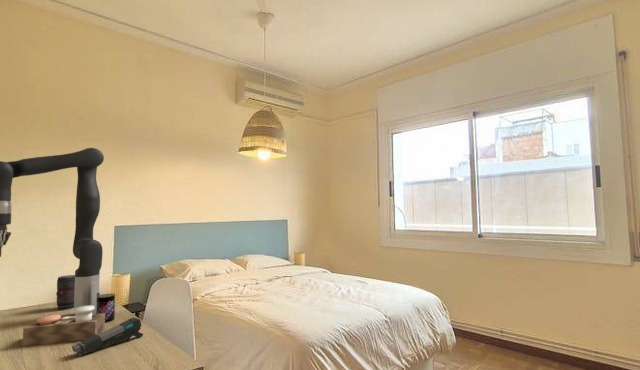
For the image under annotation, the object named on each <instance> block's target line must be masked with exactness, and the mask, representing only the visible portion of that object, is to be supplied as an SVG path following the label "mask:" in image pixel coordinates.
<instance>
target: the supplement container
mask: <svg viewBox="0 0 640 370" xmlns="http://www.w3.org/2000/svg"><path fill="white" fill-rule="evenodd" d="M96 301H97V306H96V314H105V324H106V323H108V322H109V323H111V322H112V321H114V320H115V317H116V316H115V315H116V293H104V294H100V295H99V296H97V300H96Z"/></svg>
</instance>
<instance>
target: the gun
mask: <svg viewBox="0 0 640 370" xmlns="http://www.w3.org/2000/svg"><path fill="white" fill-rule="evenodd" d="M141 327H142V321H141V319H139V318H137V317H132V318H131V317H130V318H129V319H126V320H125V321H122V322H120V323H119V324H117V325H115V326H113V327H111V328H108V329H106V330H103V331H102V332H101V333H99V334H97V335H93V336H91V337H89V338H87V339H85V340H80V342H78V343H75V344H73V345H71V349H72V352H74V353H76V355H77V356H78V357H83V356H84V355H86V354H88V353H94V352H96V351H98V350H101V349H102V348H103V347H106V346H107V345H113V344H115V345H117V344H119V343H121V342H123V341H126V342H127V341H129V340H130V339H131V338H132V337H136V338H138V339H139V338H140V337H141V338H143V336H144V333H142V332H139V331H140V330H141ZM141 338H140V339H141Z"/></svg>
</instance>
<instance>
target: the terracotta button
mask: <svg viewBox="0 0 640 370" xmlns="http://www.w3.org/2000/svg"><path fill="white" fill-rule="evenodd" d="M61 317H62V316H61V315H60V314H50V315H45V316H44V315H43V316H40V317H38V318H37V320H38V324H40V325H48V324H55V323H57V322H58V321H59V320H60V319H61Z"/></svg>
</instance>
